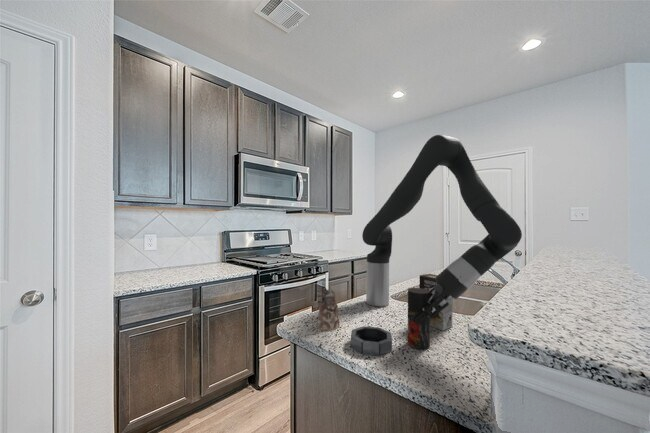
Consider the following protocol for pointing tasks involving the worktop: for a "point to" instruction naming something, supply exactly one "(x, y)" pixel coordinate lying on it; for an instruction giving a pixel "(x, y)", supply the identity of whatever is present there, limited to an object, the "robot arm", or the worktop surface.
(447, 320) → the coffee box
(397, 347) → the worktop surface
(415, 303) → the deodorant
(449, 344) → the worktop surface
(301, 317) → the worktop surface
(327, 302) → the figurine
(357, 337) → the collar ring
